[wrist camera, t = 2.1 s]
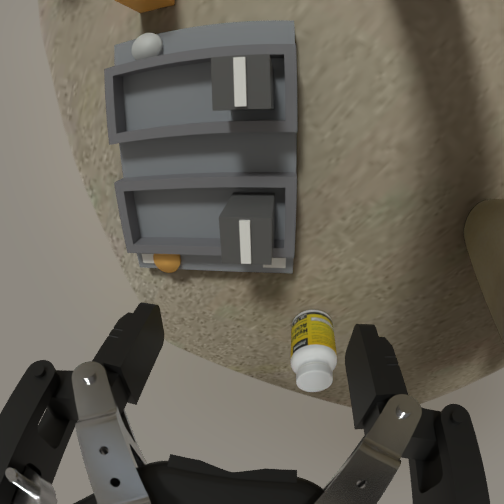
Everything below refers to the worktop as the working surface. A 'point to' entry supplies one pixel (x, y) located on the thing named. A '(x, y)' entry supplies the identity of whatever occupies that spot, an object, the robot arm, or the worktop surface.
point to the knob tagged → (248, 228)
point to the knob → (242, 82)
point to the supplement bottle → (313, 350)
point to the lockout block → (146, 4)
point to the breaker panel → (200, 143)
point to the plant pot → (488, 254)
